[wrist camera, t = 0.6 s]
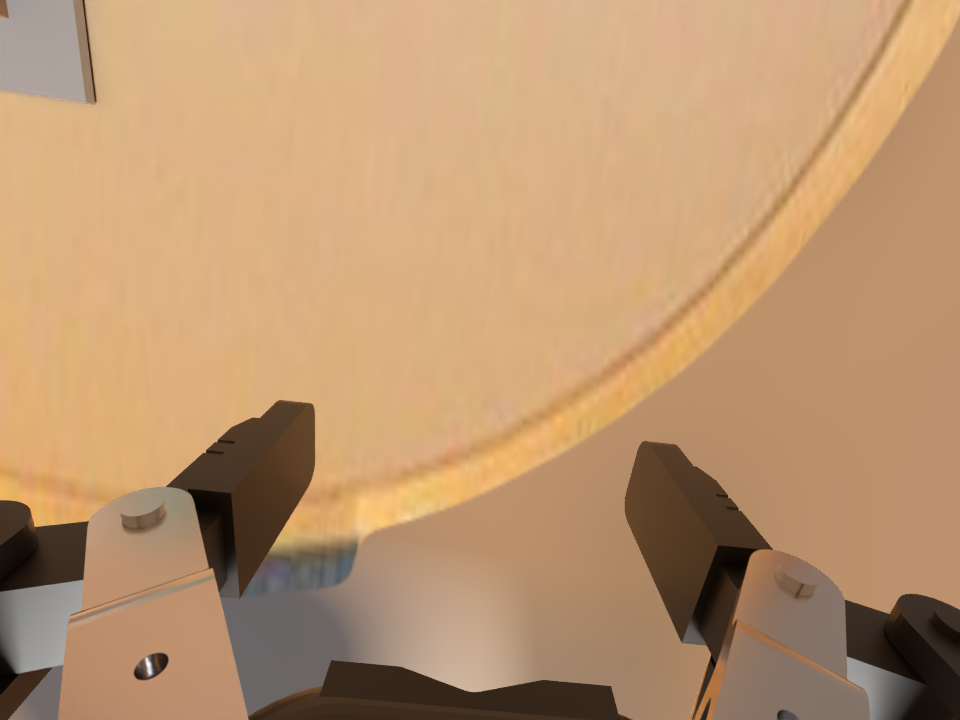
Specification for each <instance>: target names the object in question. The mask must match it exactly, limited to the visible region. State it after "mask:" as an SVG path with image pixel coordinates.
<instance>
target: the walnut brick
mask: <svg viewBox="0 0 960 720" xmlns="http://www.w3.org/2000/svg"><path fill="white" fill-rule="evenodd" d="M0 17H3V18H9V15H8V9H7V3H6V0H0Z"/></svg>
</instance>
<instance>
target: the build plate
mask: <svg viewBox="0 0 960 720" xmlns="http://www.w3.org/2000/svg"><path fill="white" fill-rule="evenodd" d="M6 3H7V9H8V15H9V18H3V17H0V91H6V92H13V93H20V94H27V95H33V96H40V97H47V98H54V99H60V100H67V101H74V102H81V103H87V104H94V105H95V100H94V92H93V84H92V75H91V67H90V59H89V51H88V43H87V34H86V26H85V18H84V10H83V2H82V0H6Z"/></svg>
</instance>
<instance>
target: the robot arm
mask: <svg viewBox="0 0 960 720" xmlns="http://www.w3.org/2000/svg"><path fill="white" fill-rule="evenodd" d="M314 466H315V411H314V407H313V405H312V404H311V403H302V402H293V401H284V400H279V401H277V402H276V403H275V404H274V405H273V406H272V407H271V408H270V409H269V410H268V411H267V412H266V413H265V414H264V415H263V416H262V417H261V418H251V419H249V420H246V421H244V422H242V423H240V424H238V425H236V426H233V427H232V428H230V429H229V430H228V431H227V432H226V433H225V434H224V435H223V436H222V437H220V438H219V439H218V442H215V443H214V444H213V445H212V446H210V447H209V448H208V449H207V450H206V453H203V454H202V455H200V456H199V457H198V458H197V459H196V460H195V461H194V462H193V463H192V464H190V465H189V466H188V467H187V468H186V469H185V470H184V471H183V472H182V473H180V474H179V475H178V476H177V477H176V478H175V479H174V480H173V481H172V482H171V483H169V484H168V485H167V486H166V487H157V488H149V489H143V490H139V491H136V492H132V493H129V494H126V495H124V496H121V497H119V498H117V499H115V500H113V501H111V502H109V503H108V504H106V505H105V506H103V507H102V508H101V509H99V510H98V511H97V512H96V513H95V514H94V515H93V516H92V518H91V519H90V521H87V522H78V523H69V524H60V525H51V526H41V527H35V526H34V522H33V519H32V515H31V511H30V508H29V507H28V506H27V505H25V504H23V503H20V502H17V501H7V500H0V720H8V719H9V718H10V716H11V715H12V714H13V713H14V712H15V711H16V710H17V708H18V707H19V706H20V705H21V704H22V703H23V701H24V700H25V699H26V698H27V697H28V695H29V694H30V693H31V692H32V691H33V689H35V687H36V686H37V685H38V684H39V683H40V681H41V680H42V679H43V678H44V677H45V676H46V674H47V673H48V672H49V671H50V670H51V669H52V667H54V666H59V665H63V675H62V685H61V695H60V706H59V714H58V720H631V719H629V718H627V717H625V716H622V715H620V714H618V712H617V708H616V704H615V700H614V696H613V692H612V688H611V686H602V685H592V684H591V685H590V684H581V683H580V684H579V683H569V682H558V681H548V680H541V681H536V682H530V683H525V684H519V685H514V686H509V687H503V688H498V689H493V690H487V691H482V692H468V691H464V690H462V689H459V688H456V687H454V686H451V685H448V684H445V683H443V682H440V681H437V680H435V679H432V678H429V677H427V676H424V675H422V674H419V673H416V672H413V671H411V670H408V669H405V668H403V667H397V666H386V665H375V664H365V663H354V662H343V661H332V660H331V663H330V666H329V669H328V672H327V675H326V678H325V681H324V685H323V686H321V687H316V688H311V689H307V690H304V691H301V692H298V693H294V694H291V695H289V696H287V697H284V698H282V699H280V700H277V701H275V702H273V703H271V704H269V705H267V706H266V707H264V708H262V709H260V710H258V711H256V712H255V713H253V714H252V715H250V716H249V717H248V715H247V711H246V706H245V702H244V698H243V694H242V689H241V685H240V681H239V677H238V672H237V668H236V664H235V660H234V655H233V651H232V647H231V643H230V638H229V635H228V630H227V626H226V621H225V617H224V613H223V609H222V604H221V600H220V597H227V598H238V599H240V597H241V596H242V594H243V593H244V591H245V589H246V588H247V586H248V584H249V583H250V581H251V579H252V578H253V576H254V575H255V573H256V571H257V570H258V568H259V566H260V565H261V563H262V562H263V560H264V558H265V557H266V555H267V553H268V552H269V550H270V548H271V547H272V545H273V544H274V542H275V540H276V539H277V537H278V535H279V534H280V532H281V531H282V529H283V527H284V526H285V524H286V522H287V521H288V519H289V517H290V516H291V514H292V513H293V511H294V509H295V508H296V506H297V504H298V503H299V501H300V500H301V498H302V496H303V495H304V493H305V491H306V490H307V488H308V486H309V484H310V482H311V479H312V476H313V472H314ZM625 514H626V518H627V521H628V524H629V526H630V528H631V530H632V533H633V534H634V537H635V539H636V541H637V544H638V546H639V548H640V550H641V553H642V555H643V557H644V559H645V562H646V564H647V566H648V568H649V571H650V573H651V575H652V577H653V579H654V582H655V584H656V586H657V589H658V591H659V593H660V595H661V598H662V600H663V602H664V604H665V607H666V609H667V611H668V613H669V615H670V618H671V620H672V622H673V624H674V627H675V629H676V631H677V633H678V636H679V638H680V640H681V642H682V643H687V644H697V645H707V646H708V649H709V651H710V652H711V655H710V657H709V660H708V662H707V665H706V667H705V670H704V674H703V677H702V680H701V683H700V687H699V690H698V693H697V697H696V700H695V703H694V706H693V710H692V713H691V716H690V720H960V610H959V609H957V608H955V607H953V606H951V605H948V604H946V603H944V602H942V601H939V600H936V599H934V598H930V597H927V596H923V595H918V594H905V595H902V596H901V597H900V598H899V599H898V601H897V602H896V604H895V606H894V608H893V609H892V611H891V613H890V614H887V613H884V612H881V611H878V610H875V609H872V608H869V607H866V606H863V605H860V604H857V603H853V602H850V601H847V600H844V597H843V595H842V593H841V591H840V590H839V588H838V587H837V586H836V585H835V584H834V582H833V581H832V580H830V579H829V578H828V577H827V576H826V575H825V574H824V573H822V572H821V571H820V570H818V569H817V568H815V567H814V566H812V565H811V564H809V563H807V562H805V561H804V560H801V559H800V558H798V557H795V556H793V555H790V554H787V553H784V552H781V551H776V550H773V549H772V548H771V547H770V545H769V544H768V543H767V542H766V541H765V539H764V538H763V537H762V536H761V535H760V533H759V532H758V531H757V530H756V528H755V527H754V526H753V525H752V524H751V523H750V521H749V520H748V519H747V518H746V516H745V515H744V514H743V513H742V512H741V511H739V510H738V507H737V506H736V504H735V503H734V502H733V501H732V500H731V499H730V498H728V495H727V494H726V492H725V491H724V490H723V489H722V487H721V486H720V485H719V484H718V482H717V481H716V480H714V479H713V478H712V477H710V476H709V475H707V474H706V473H705V472H703V471H702V470H701V469H699V468H698V467H694V466H693V465H692V464H691V462H690V461H689V460H688V459H687V457H686V456H685V455H684V453H683V452H682V451H681V450H680V448H679V447H678V446H677V445H675V444H667V443H658V442H648V441H644V442H642V443H641V445H640V446H639V449H638V451H637V456H636V459H635V463H634V466H633V470H632V474H631V478H630V481H629V485H628V488H627V492H626V497H625Z"/></svg>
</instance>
